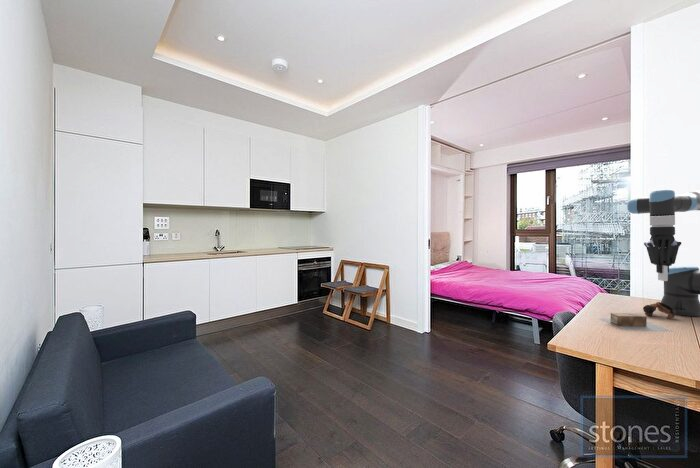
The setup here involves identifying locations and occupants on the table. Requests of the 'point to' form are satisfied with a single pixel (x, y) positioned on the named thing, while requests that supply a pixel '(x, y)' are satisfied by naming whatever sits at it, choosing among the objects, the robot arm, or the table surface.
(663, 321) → the table surface
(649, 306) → the brown curved arch
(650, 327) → the mat
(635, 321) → the walnut block
